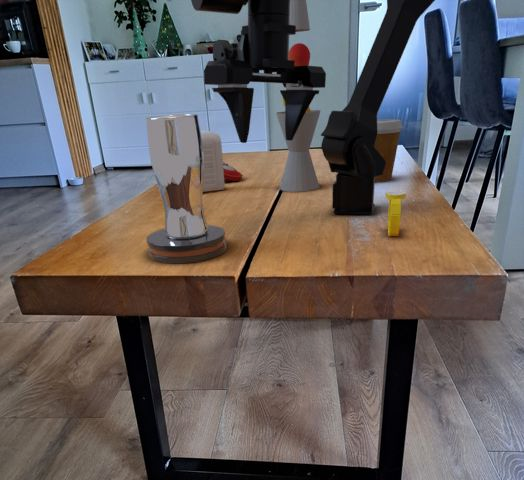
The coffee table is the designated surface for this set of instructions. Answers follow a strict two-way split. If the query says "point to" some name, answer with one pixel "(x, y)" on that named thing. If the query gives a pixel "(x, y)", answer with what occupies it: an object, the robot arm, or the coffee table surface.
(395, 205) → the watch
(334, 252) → the coffee table surface
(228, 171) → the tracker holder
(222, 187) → the photo printer
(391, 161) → the disposable coffee cup
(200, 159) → the beer glass
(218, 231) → the coaster stack
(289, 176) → the lava lamp
